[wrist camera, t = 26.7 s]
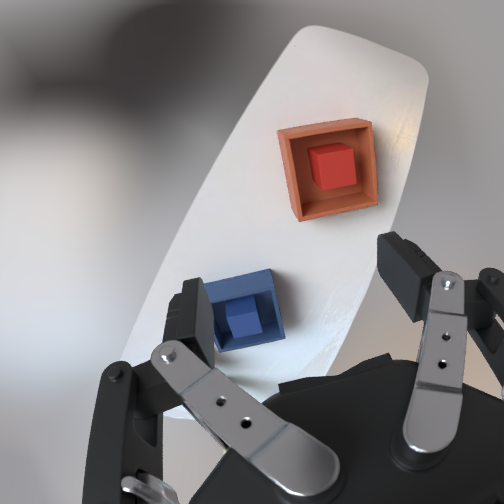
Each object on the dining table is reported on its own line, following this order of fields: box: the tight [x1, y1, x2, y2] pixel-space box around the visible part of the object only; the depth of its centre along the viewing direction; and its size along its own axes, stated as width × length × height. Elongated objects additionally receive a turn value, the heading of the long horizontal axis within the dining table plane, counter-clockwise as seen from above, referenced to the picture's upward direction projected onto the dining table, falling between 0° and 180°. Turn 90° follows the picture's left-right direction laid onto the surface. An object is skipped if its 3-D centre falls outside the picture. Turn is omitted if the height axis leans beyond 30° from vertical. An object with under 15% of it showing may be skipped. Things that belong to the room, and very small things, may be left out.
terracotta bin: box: [277, 118, 378, 222], centre depth 37 cm, size 11×11×4 cm
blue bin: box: [204, 269, 285, 353], centre depth 48 cm, size 11×11×4 cm
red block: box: [307, 142, 357, 191], centre depth 37 cm, size 5×5×5 cm
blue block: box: [226, 294, 263, 338], centre depth 47 cm, size 5×5×5 cm
